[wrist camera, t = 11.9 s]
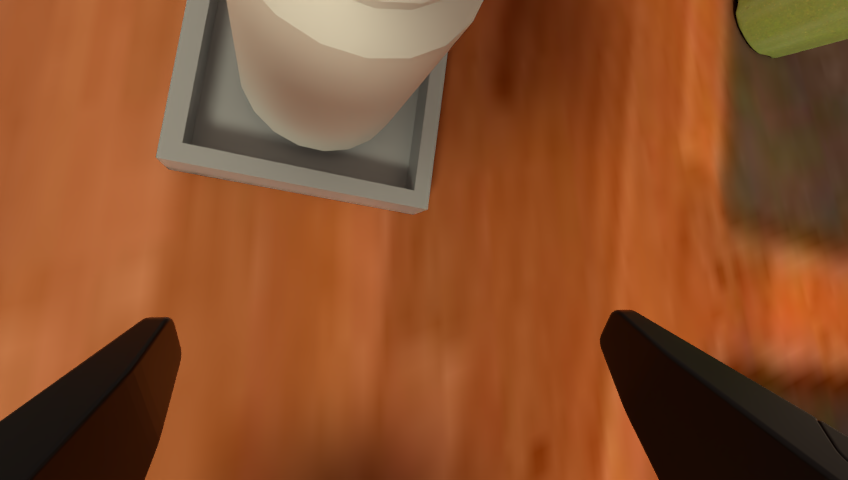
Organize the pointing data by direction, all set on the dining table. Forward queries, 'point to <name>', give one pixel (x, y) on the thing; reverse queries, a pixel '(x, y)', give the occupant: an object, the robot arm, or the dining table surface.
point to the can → (339, 61)
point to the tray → (272, 153)
